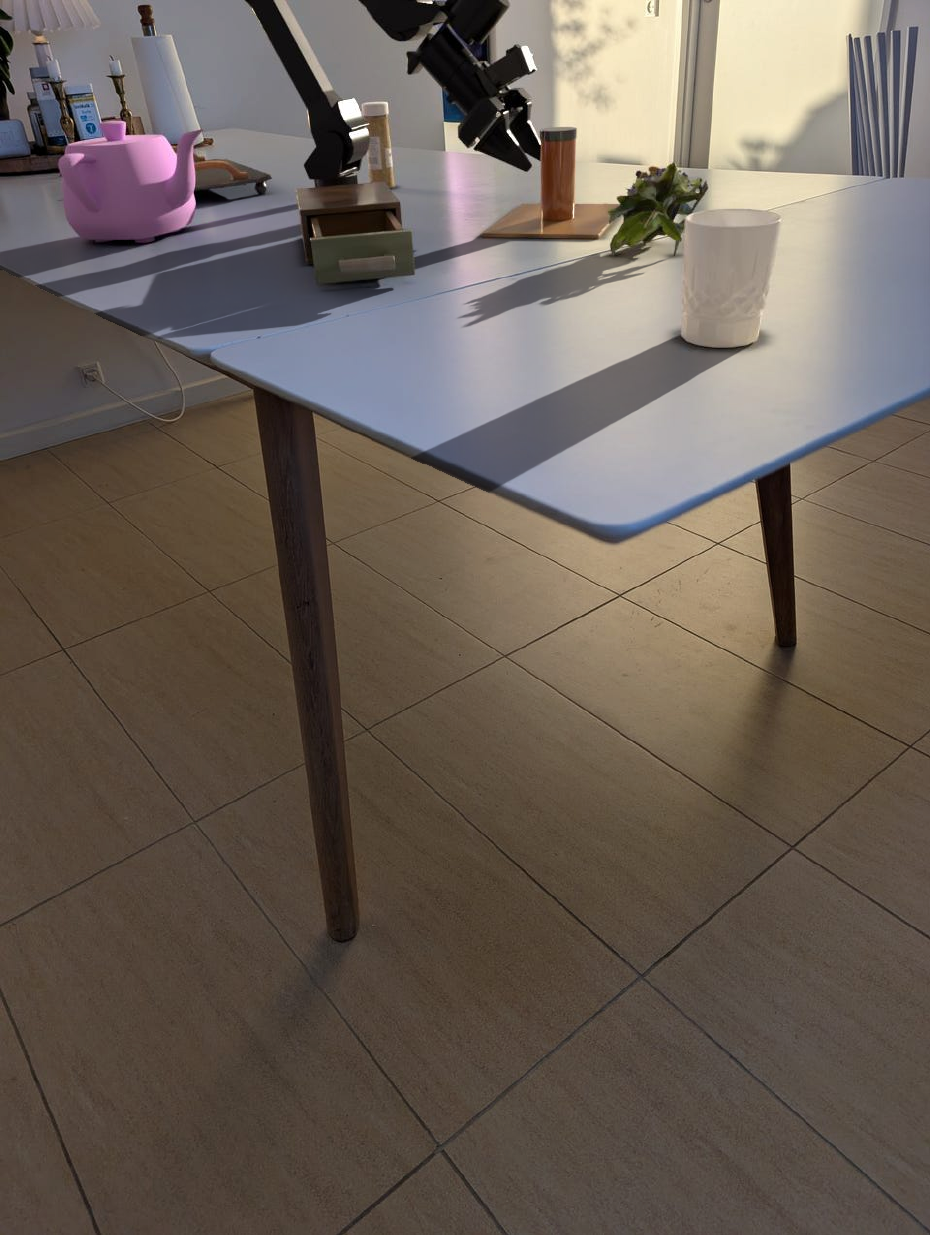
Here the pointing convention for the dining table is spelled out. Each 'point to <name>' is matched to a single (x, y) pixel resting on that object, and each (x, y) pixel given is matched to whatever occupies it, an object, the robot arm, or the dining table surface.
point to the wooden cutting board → (553, 223)
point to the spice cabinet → (342, 204)
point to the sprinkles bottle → (378, 143)
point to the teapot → (128, 185)
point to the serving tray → (225, 174)
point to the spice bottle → (558, 173)
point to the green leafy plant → (655, 206)
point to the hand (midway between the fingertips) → (537, 164)
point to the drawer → (360, 246)
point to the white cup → (727, 274)
